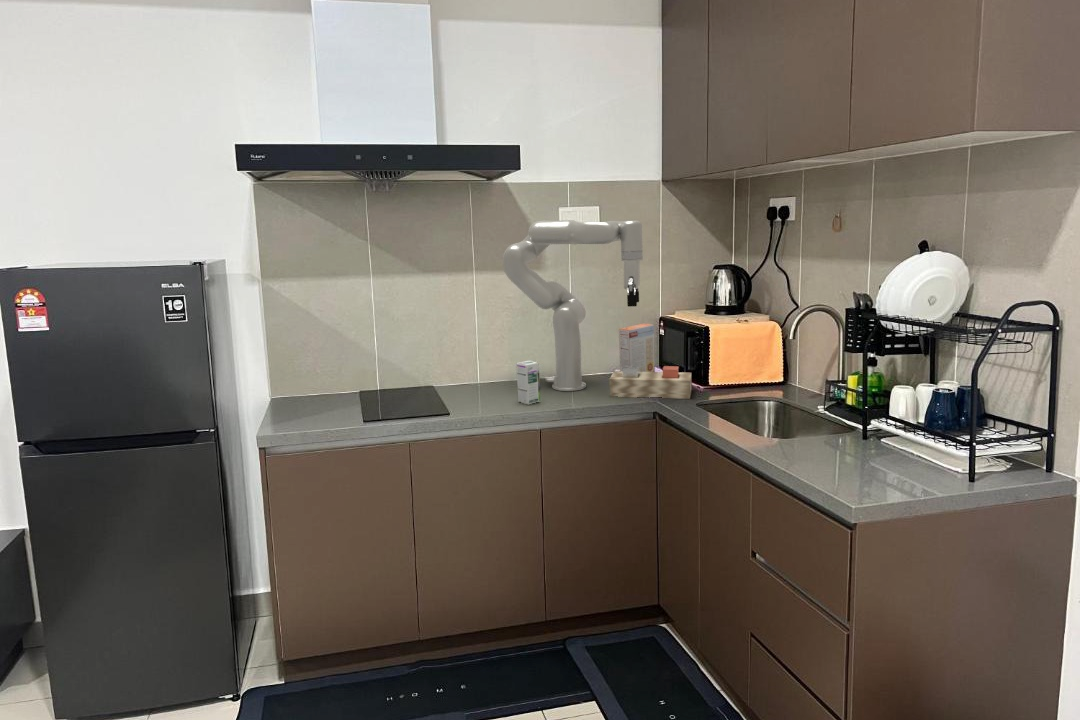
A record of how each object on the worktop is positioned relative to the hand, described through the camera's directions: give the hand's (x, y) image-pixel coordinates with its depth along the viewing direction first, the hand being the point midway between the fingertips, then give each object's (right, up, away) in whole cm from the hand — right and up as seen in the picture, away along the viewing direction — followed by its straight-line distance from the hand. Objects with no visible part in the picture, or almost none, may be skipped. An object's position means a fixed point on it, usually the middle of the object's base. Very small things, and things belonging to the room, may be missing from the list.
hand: (633, 304), depth 281 cm
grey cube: (-1, -27, +2) cm, 27 cm away
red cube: (+13, -27, -1) cm, 30 cm away
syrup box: (-37, -35, -4) cm, 51 cm away
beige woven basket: (+6, -32, +1) cm, 33 cm away
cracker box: (+4, -28, +22) cm, 36 cm away
